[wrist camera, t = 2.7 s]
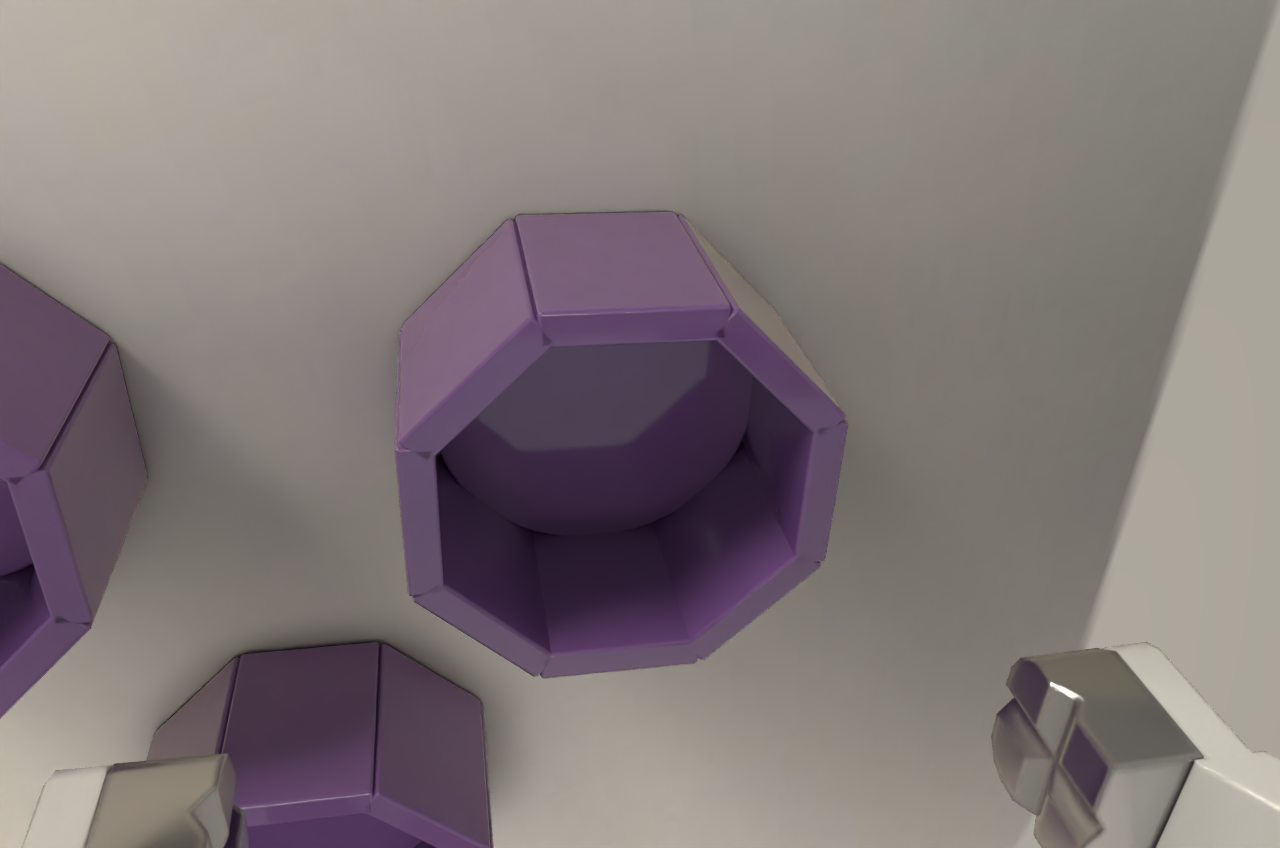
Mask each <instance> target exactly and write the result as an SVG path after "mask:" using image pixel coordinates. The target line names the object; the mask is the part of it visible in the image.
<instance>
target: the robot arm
mask: <svg viewBox="0 0 1280 848" xmlns="http://www.w3.org/2000/svg"><path fill="white" fill-rule="evenodd" d="M1006 685H1007V687H1008V688H1009V690H1010V691H1011V693H1012V695H1013V696H1014V698H1013V699H1012V700H1011V701H1010V702H1009V703H1008V704H1007V705H1006V706H1005V707H1004V708H1003V709H1002V710H1001V711H1000V712H998V713H997V716H996V720H995V724H994V728H993V732H992V736H991V738H992V747H993V757H994V763H995V765H996V768H997V771H998V774H999V776H1000V779H1001V781H1002V783H1003V785H1004V787H1005V788H1006V790H1007V792H1008V793H1009V795H1010V797H1011V798H1012V800H1013V801H1015V802H1016V803H1018V804H1019V805H1021V806H1022V807H1024V808H1025V809H1027V810H1028V811H1030V812H1031V813H1033V814H1035V815H1036V820H1035V828H1034V836H1035V838H1036V840H1037V841H1038V843H1039V845H1040V846H1041V848H1280V759H1279V758H1277V757H1275V756H1274V755H1272V754H1270V753H1268V752H1266V751H1259V752H1251V751H1250V750H1249V748H1248V747H1247V746H1246V745H1245V744H1244V743H1243V742H1242V741H1241V740H1240V738H1239V737H1238V736H1237V735H1236V734H1235V733H1234V732H1233V731H1232V729H1231V728H1230V727H1229V726H1228V725H1227V724H1226V723H1225V722H1224V720H1223V719H1222V718H1221V717H1220V716H1219V715H1218V714H1217V713H1216V711H1215V710H1214V709H1213V708H1212V707H1211V706H1210V705H1209V704H1208V702H1207V701H1206V700H1205V699H1204V698H1203V697H1202V696H1201V695H1200V693H1199V692H1198V691H1197V690H1196V689H1195V688H1194V687H1193V686H1192V685H1191V683H1190V682H1189V681H1188V680H1187V679H1186V678H1185V677H1184V675H1182V673H1181V672H1180V671H1179V670H1178V669H1177V668H1176V667H1175V665H1174V664H1173V663H1172V662H1171V661H1170V660H1169V659H1168V658H1167V656H1166V655H1165V654H1164V653H1163V652H1162V651H1161V650H1160V649H1159V648H1157V647H1155V646H1153V645H1151V644H1150V643H1148V642H1144V643H1136V644H1128V645H1120V646H1112V647H1105V648H1102V649H1100V648H1094V649H1086V650H1078V651H1070V652H1063V653H1055V654H1048V655H1040V656H1032V657H1025V658H1020V659H1019V660H1018V661H1017V662H1016V663H1015V664H1014V665H1013V666H1012V667H1011V670H1010V673H1009V676H1008V679H1007V683H1006ZM236 783H237V777H236V773H235V770H234V766H233V762H232V759H231V755H228V754H225V753H224V754H213V755H202V756H192V757H181V758H171V759H160V760H150V761H139V762H128V763H118V764H114V765H106V766H95V767H85V768H75V769H65V770H55V772H54V773H53V774H52V776H51V777H50V778H49V779H48V781H47V782H46V783H45V785H44V786H43V788H42V791H41V794H40V797H39V800H38V802H37V805H36V808H35V811H34V814H33V817H32V819H31V822H30V825H29V828H28V831H27V833H26V836H25V839H24V842H23V845H22V848H250V843H249V833H248V826H247V821H246V817H245V812H244V810H242V809H241V808H239V807H238V806H236V805H235V804H233V803H234V796H235V789H236Z"/></svg>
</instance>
